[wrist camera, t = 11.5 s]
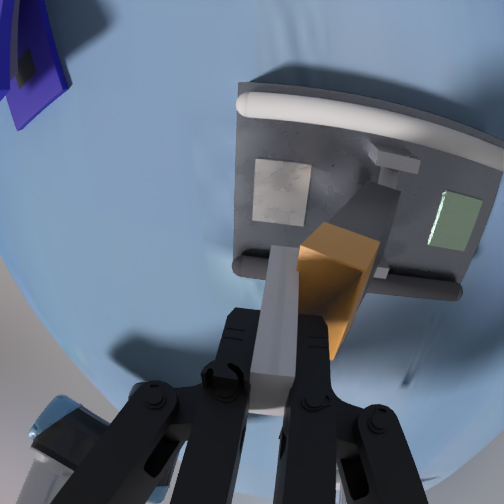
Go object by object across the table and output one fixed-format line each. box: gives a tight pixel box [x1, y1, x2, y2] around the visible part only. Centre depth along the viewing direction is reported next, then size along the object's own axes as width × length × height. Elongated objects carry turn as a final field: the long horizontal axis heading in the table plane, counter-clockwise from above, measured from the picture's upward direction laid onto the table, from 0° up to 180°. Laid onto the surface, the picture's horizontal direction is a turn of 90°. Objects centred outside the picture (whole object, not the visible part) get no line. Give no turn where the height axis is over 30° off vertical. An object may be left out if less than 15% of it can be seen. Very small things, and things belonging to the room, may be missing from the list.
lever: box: [296, 167, 401, 361], centre depth 16 cm, size 3×7×13 cm, turn 178°
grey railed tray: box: [232, 92, 504, 301], centre depth 20 cm, size 22×15×2 cm
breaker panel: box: [233, 82, 504, 284], centre depth 22 cm, size 22×16×6 cm
